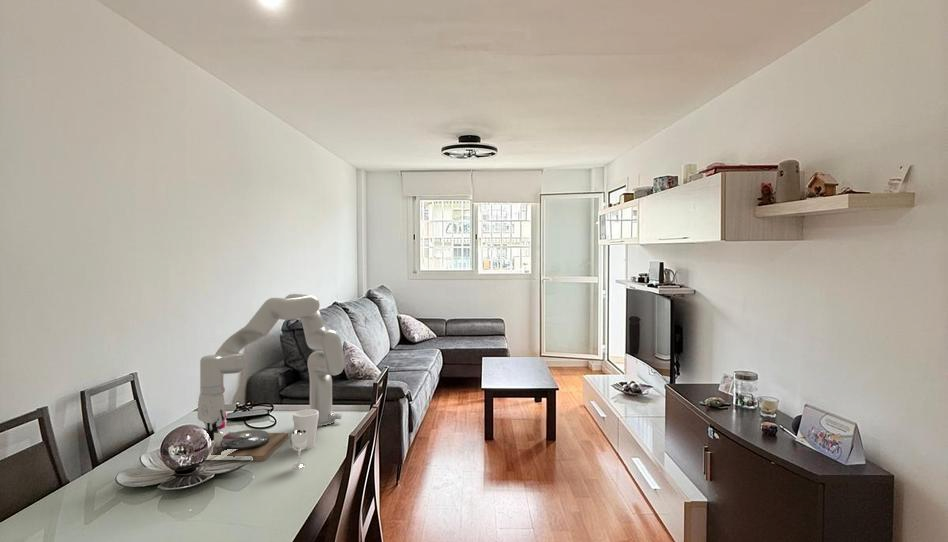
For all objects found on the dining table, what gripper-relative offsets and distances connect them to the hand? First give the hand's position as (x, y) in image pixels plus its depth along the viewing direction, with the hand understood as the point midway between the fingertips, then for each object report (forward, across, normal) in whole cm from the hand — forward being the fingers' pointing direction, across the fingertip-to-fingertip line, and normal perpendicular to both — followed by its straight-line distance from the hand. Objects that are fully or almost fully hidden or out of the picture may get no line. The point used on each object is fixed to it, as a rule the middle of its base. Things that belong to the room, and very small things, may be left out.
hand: (212, 439), depth 186 cm
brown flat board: (+6, +3, +11) cm, 13 cm away
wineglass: (+6, +34, +11) cm, 36 cm away
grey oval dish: (+3, +3, +9) cm, 10 cm away
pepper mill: (+6, -29, +20) cm, 36 cm away
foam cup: (+6, +20, +25) cm, 33 cm away
